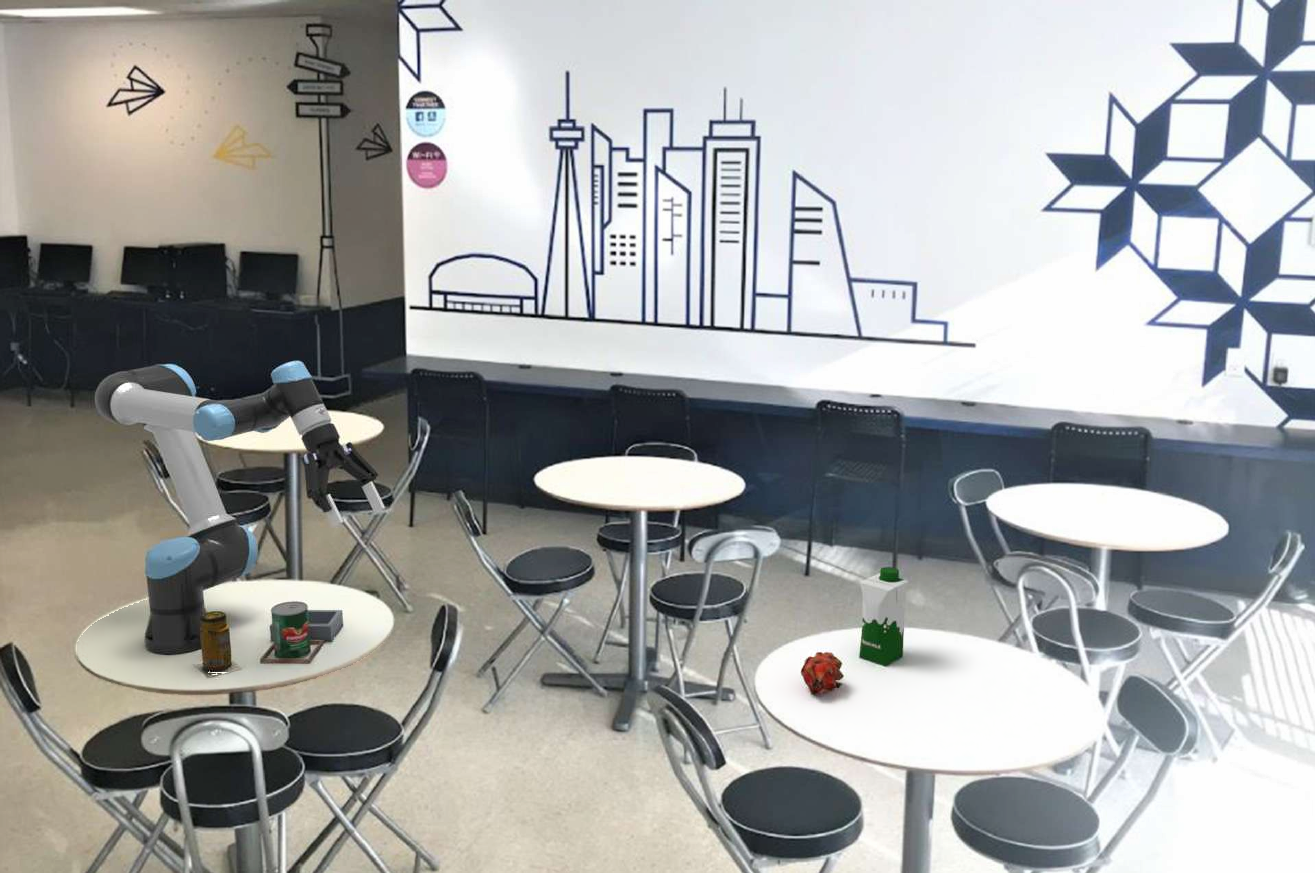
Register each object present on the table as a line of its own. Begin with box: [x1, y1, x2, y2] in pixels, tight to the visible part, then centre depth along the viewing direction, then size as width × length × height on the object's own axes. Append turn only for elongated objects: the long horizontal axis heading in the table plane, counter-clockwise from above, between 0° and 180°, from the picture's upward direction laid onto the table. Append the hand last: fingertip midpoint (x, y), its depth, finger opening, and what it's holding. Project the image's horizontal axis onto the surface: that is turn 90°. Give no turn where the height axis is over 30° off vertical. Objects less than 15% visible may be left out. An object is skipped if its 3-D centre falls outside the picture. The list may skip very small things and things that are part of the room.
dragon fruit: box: [800, 651, 845, 696], centre depth 256 cm, size 8×8×12 cm
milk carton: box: [858, 566, 909, 667], centre depth 271 cm, size 9×9×20 cm
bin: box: [269, 609, 344, 643], centre depth 286 cm, size 14×10×4 cm
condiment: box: [195, 610, 243, 678], centre depth 267 cm, size 7×8×12 cm
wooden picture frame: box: [259, 640, 325, 665], centre depth 276 cm, size 11×11×1 cm
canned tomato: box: [270, 600, 312, 659], centre depth 275 cm, size 8×8×11 cm
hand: (359, 517), depth 263 cm, fingers open, 13 cm apart
